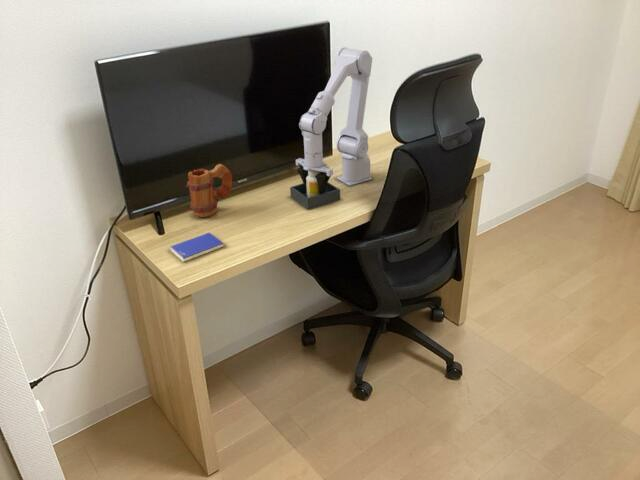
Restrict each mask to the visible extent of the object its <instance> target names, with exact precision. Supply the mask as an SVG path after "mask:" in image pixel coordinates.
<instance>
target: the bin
mask: <svg viewBox="0 0 640 480" xmlns="http://www.w3.org/2000/svg"><path fill="white" fill-rule="evenodd" d="M289 191H290V192H289V193H290V198H291V199H292V200H294V201H295V202H297V203H298V204H299V205H301V206H302V207H304V208H305V209H307V210H312V209H315V208H318V207H322V206H325V205H328V204H331V203H334V202H337V201H340V200H341V189H340V188H338V187H336V186H335V185H333V184H332V183H330V182H328V183H327V186H326V190H325V193H323V194H320V195H317V196H314V197H311V198H307V189H305V187H304V184H303V183H299V184H296V185H293V186H290V187H289Z"/></svg>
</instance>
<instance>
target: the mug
mask: <svg viewBox="0 0 640 480" xmlns="http://www.w3.org/2000/svg"><path fill="white" fill-rule="evenodd" d="M192 171H193V170H192ZM192 171H189V172H188V174H187V179H188V180H189V181H188V180H187V183H186V185H185V188H186V189H188V190H189V195H190V201H191V202H190V206H189V207H188V209H189V210H190V211H192V213H193V215H195V216H197V217H200V218H201V217H202V218H206V217H210V216H212V215H214V214H215V213H216V212H217V211H218V202H219V199H218V198H221V199H224V200H225V199H226V198H227V197H228V195H229V194H230V191H231V189H232V186H233V176H232V172H231V171H230V170H229V169H228V167H226V165H224V164H222V163H218V164H216V165H215V167H214V168H213V169H210V170H208V169H205V168H199V169H197V170H195V169H194V171H193V172H192ZM215 178H219V179H222V180H221V181H222V182H221V185H220V187H219V188H214V182H215ZM217 197H218V198H217Z"/></svg>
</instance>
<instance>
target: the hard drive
mask: <svg viewBox="0 0 640 480" xmlns="http://www.w3.org/2000/svg"><path fill="white" fill-rule="evenodd" d="M223 247H224V243H223V242H222V241H221V240H220V239H219V238H217V237H216V236H214V235H213V234H212V232H207V233H204V234H201V235H198V236H195V237H193V238H190V239H187V240H185V241H181V242H179V243H176V244H173V245H171V246H169V249H170V252H171V253H172V254H174V255H175V256H176V257H177V258H178V259H180V260H181V261H182V262H186V261H189V260H193V259H195V258H197V257H201V256H203V255H205V254H207V253H211V252H212V251H215V250H218V249H220V248H223Z"/></svg>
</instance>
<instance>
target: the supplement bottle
mask: <svg viewBox="0 0 640 480" xmlns="http://www.w3.org/2000/svg"><path fill="white" fill-rule="evenodd" d="M317 174H320V172H318V171H314V170H308V176H307V177H306V186H307V198H311V197H314V196H317V195H320V194H319V189H318V182H317V179H316V177H315V175H317Z"/></svg>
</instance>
